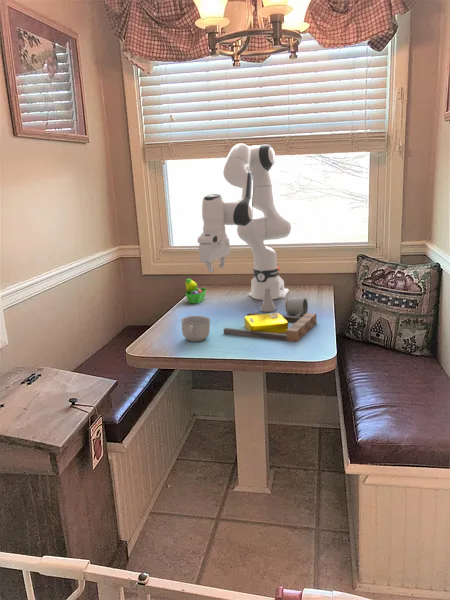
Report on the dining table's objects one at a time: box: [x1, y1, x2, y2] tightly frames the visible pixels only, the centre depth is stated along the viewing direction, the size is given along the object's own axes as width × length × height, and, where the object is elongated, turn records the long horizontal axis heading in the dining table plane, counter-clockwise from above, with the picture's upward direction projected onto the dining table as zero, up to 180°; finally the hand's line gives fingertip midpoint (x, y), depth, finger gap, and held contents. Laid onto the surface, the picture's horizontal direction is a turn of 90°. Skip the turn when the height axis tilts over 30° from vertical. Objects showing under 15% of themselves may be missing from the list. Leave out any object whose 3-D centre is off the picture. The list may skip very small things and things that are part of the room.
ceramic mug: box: [284, 297, 309, 317], centre depth 218 cm, size 11×8×8 cm
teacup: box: [181, 315, 211, 342], centre depth 194 cm, size 14×11×8 cm
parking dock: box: [223, 312, 317, 343], centre depth 203 cm, size 24×30×4 cm
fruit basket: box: [184, 278, 207, 304], centre depth 251 cm, size 11×9×11 cm
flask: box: [259, 288, 277, 313], centre depth 228 cm, size 7×7×10 cm
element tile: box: [243, 312, 289, 334], centre depth 204 cm, size 15×15×5 cm
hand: (216, 269), depth 209 cm, fingers open, 8 cm apart
